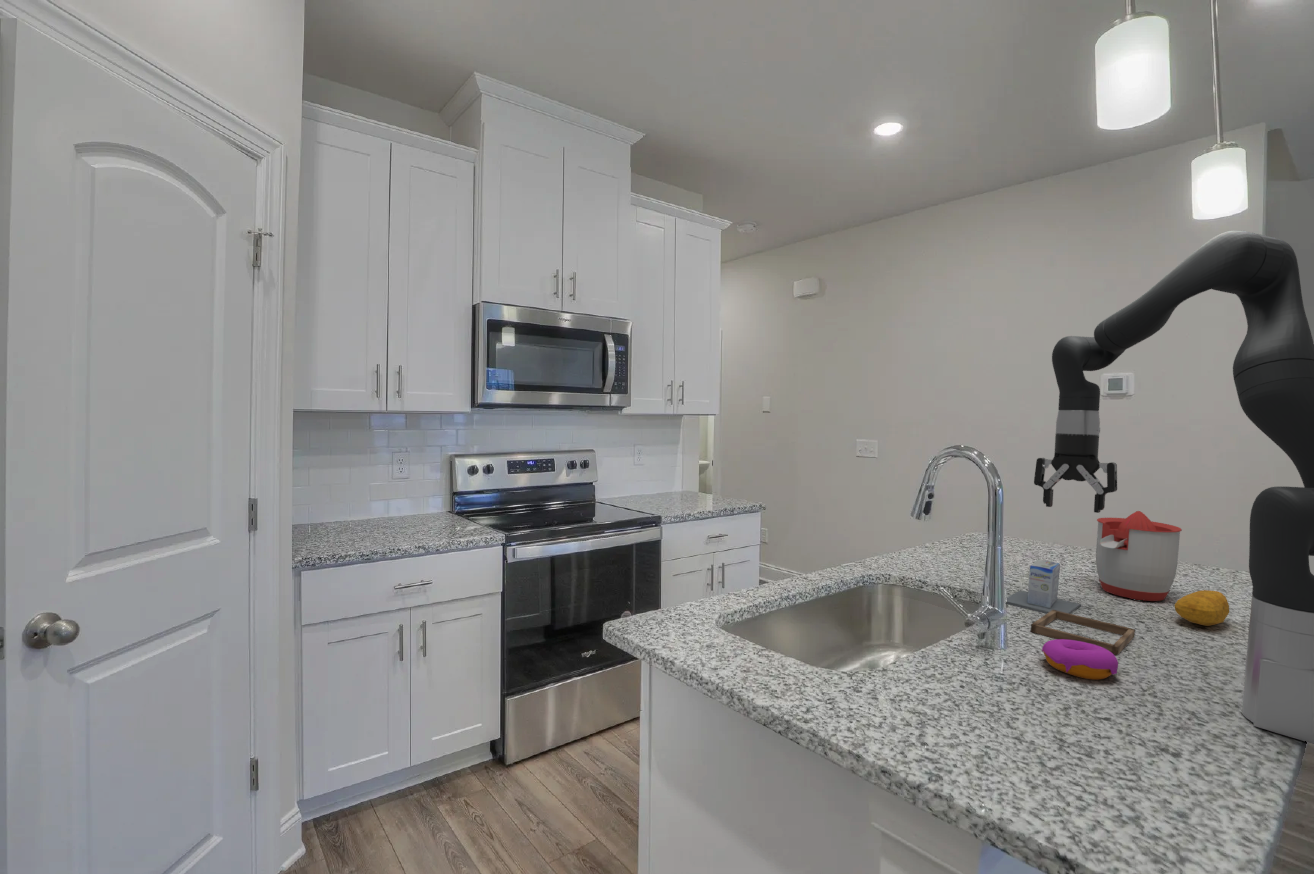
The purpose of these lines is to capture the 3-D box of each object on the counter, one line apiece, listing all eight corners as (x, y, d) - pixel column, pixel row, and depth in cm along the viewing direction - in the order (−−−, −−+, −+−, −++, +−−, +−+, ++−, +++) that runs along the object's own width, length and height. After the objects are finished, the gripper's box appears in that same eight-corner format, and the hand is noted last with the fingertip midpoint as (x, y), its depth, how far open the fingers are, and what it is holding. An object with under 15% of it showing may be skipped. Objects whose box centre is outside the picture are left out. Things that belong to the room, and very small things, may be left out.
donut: (1114, 668, 101) (1116, 642, 101) (1119, 691, 93) (1121, 663, 93) (1042, 652, 107) (1043, 627, 107) (1040, 673, 99) (1042, 646, 98)
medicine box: (1034, 595, 138) (1037, 558, 137) (1057, 600, 135) (1060, 562, 134) (1026, 603, 132) (1029, 564, 131) (1050, 609, 129) (1053, 569, 128)
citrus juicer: (1070, 587, 147) (1076, 506, 146) (1122, 582, 152) (1128, 504, 151) (1138, 608, 132) (1145, 518, 131) (1193, 602, 138) (1200, 516, 136)
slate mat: (1064, 617, 125) (1064, 615, 125) (1001, 602, 134) (1001, 600, 134) (1080, 606, 133) (1080, 603, 133) (1020, 592, 142) (1020, 590, 142)
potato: (1237, 623, 124) (1240, 591, 124) (1214, 636, 117) (1217, 602, 117) (1189, 612, 131) (1191, 581, 131) (1165, 623, 124) (1167, 590, 123)
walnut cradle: (1117, 655, 106) (1117, 647, 106) (1030, 631, 116) (1031, 624, 116) (1134, 637, 115) (1135, 629, 115) (1052, 616, 125) (1053, 609, 125)
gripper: (1032, 430, 129) (1028, 506, 129) (1115, 433, 118) (1110, 515, 119) (1043, 431, 134) (1039, 503, 135) (1123, 434, 124) (1118, 512, 124)
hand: (1072, 509), depth 127 cm, fingers open, 8 cm apart
